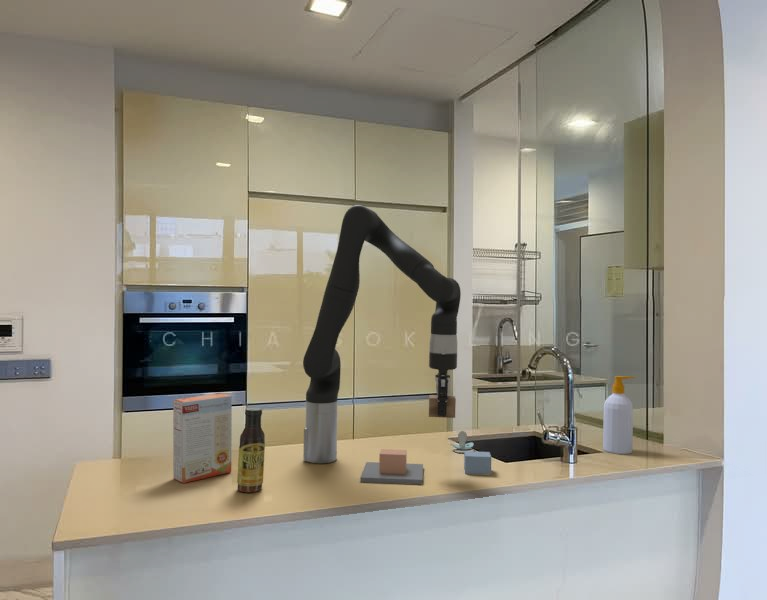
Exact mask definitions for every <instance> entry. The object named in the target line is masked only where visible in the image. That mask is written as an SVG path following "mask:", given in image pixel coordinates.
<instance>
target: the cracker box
mask: <svg viewBox="0 0 767 600" xmlns="http://www.w3.org/2000/svg"><path fill="white" fill-rule="evenodd" d="M232 398H233V397H232V395H229V394H225V393H217V394H215V393H214V394H206V395H197V396H190V397H184V398H177V399H175V398H174V399H173V402H172V403H173V407H172V408H173V410H172V411H173V415H172V416H173V420H172V421H173V422H172V423H173V428H172V429H173V430H172V432H173V435H172V436H173V448H172V449H173V451H172V454H173V463H172V464H173V467H172V469H173V476H172V477H173V479H174V480H176V481H177V482H179V483H182V484H187V483H191V482H195V481H200V480H202V479H208V478H211V477H212V478H213V477H216V476H220V475H225V474H229V473H231V472H232V440H233V439H232V435H233V434H232V424H233V423H232V419H233V418H232V415H233V414H232V400H233V399H232Z"/></svg>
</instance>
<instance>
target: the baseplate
mask: <svg viewBox="0 0 767 600" xmlns="http://www.w3.org/2000/svg"><path fill="white" fill-rule="evenodd" d="M407 452H408V450H407V449H392V448H391V449H388V448H386V449H385V448H381V449H380V451H379V461H378V462H377V461H376V462H375V461H374V462H373V461H365V465H364V467H363V470H362V472H361V475H360V481H359V482H360V483H372V484H373V483H377V484H395V483H396V484H397V485H398V484H399V485H400V484H401V485H403V484H404V485H420V484H422V485H423V480H424V478H423V477H424V476H423V475H424V464H423V463H408V462H407V458H408V457H407V456H408V455H407V454H408V453H407Z"/></svg>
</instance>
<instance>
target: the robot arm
mask: <svg viewBox="0 0 767 600" xmlns="http://www.w3.org/2000/svg"><path fill="white" fill-rule="evenodd" d="M365 242H366V243H369V244H370V245H372V246H373V247H375V248H376V249H378V250H380V251H381V252H382V253H383V254H385V256H386V257H388V259H389V260H390V261H391V262H392V263H393V265H395V267H396V268H397V269H399V271H401V272H402V273H403V274H404V275H405V276H406V277H408V278H409V279H410V280H411V281H412V282H414V283H415V284H416V285H418V287H419V288H420V289H421V290H422V291H423V293H425V295H427V297H428V298H430V300H431V299H432V301H434V302H435V310H434V313H433V314H432V315H431V320H430V339H429V350H428V352H429V355H428V367H429V368H430V369H433V370H438V372H437V374H435V378H434V380H435V393H436V395H438V397H437V400H438V416H446V402H447V401H448V398H447V396H448V394H449V393H450V382H451V375H450V374H448V371H453V370H456V369H457V368H458V336H457V334H458V314H459V309H460V304H461V295H462V294H461V287H460V284H459V283H458V281H457V280H456V279H454V278H451V277H446V276H445V275H443V274H442V273H441V272H439V271H438V270H437V269H436V268H435V266H434V264H433V263H431V261H430V260H428V258H426V257H424V256H423V255H422V254H421V253H420V252H418V251H417V250H415V249H414V248H413V247H412V246H411V245H409V244H408V243H406V241H404V240H402V239H401V238H400V237H399V236H398V235H397V234H395V233H394V232H393V231H392V229H390V228H389V226H388V225H387V223H385V222H384V221H383V219H381V217H380V216H379V215H378V214H377V212H376V211H374V210H373V209H370V208H368V207H366V206H364V205H360V204H355V205H352V206H351V207H349V208H348V209H347V211H346V212H345V213H344V216H343V219H342V223H341V228H340V233H339V237H338V243H337V249H336V253H335V257H334V259H333V263H332V266H331V270H330V273H329V277H328V280H327V283H326V286H325V290H324V294H323V296H322V301H321V304H320V305H321V306H320V309H319V312H318V317H317V320H316V325H315V327H314V331H313V334H312V336H311V339H310V341H309V344H308V346H307V348H306V351H305V353H304V356H303V360H302V362H303V363H302V366H303V367H302V368H303V370H304V372H305V374H306V375H307V376H308V377H309V379H310V382H309V385H308V389H306V393H305V427H304V428H303V459H302V460H303V462H307V463H312V464H327V463H328V464H329V463H333V462H335V461H336V460H337V459H338V396H339V393H340V388H341V387H340V386H341V370H342V369H341V365H342V364H341V357H340V354H339V352H338V351H337V350H336V346H337V343H338V339H339V336H340V334H341V331H342V330H343V328H344V326H345V324H346V323H347V321H348V319H349V317H350V316H351V314H352V312H353V309H354V306H355V303H356V300H357V295H358V293H359V289H360V279H361V278H360V276H361V275H360V258H361V253H362V250H363V247H364V243H365ZM440 395H443V396H440Z"/></svg>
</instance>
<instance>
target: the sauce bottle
mask: <svg viewBox="0 0 767 600" xmlns="http://www.w3.org/2000/svg"><path fill="white" fill-rule="evenodd" d="M244 414H245V415H244V416H245V424H244V428H243V430H242V433H241V434H240V438H239V446H238V462H237V476H236V477H237V479H236V483H237V491H239V492H241V493H255V492H259V491H261V490H262V488H263V484H264V471H265V452H266V451H265V449H266V443H265V442H266V441H265V439H266V438H265V433H264V431H263V428H262V415H263V409H262V408H261V407H260V408H259V407H247V408H245V411H244Z"/></svg>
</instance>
